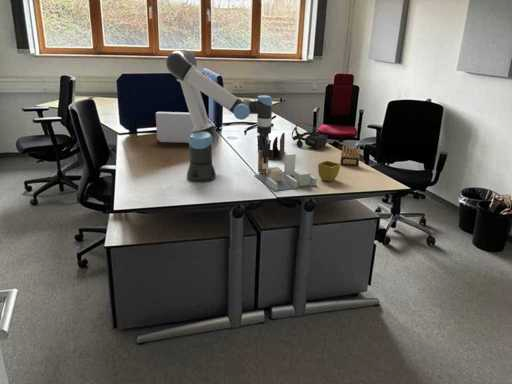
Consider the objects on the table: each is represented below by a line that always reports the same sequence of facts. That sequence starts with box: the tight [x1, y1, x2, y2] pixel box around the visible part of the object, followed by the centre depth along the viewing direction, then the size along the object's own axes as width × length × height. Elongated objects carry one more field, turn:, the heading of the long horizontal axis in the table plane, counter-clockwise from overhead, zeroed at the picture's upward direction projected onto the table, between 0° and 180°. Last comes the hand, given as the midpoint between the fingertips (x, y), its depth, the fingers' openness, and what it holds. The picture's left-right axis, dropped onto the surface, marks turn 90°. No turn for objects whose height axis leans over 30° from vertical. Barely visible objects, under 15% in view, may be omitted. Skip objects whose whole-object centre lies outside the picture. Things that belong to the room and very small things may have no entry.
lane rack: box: [254, 171, 318, 192], centre depth 222 cm, size 25×24×4 cm
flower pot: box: [317, 160, 342, 182], centre depth 224 cm, size 9×9×9 cm
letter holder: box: [268, 132, 286, 161], centre depth 264 cm, size 10×20×14 cm, turn 170°
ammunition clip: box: [339, 145, 361, 168], centre depth 248 cm, size 11×2×12 cm, turn 78°
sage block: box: [283, 152, 312, 186], centre depth 220 cm, size 18×6×12 cm, turn 23°
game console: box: [155, 111, 194, 144], centre depth 291 cm, size 6×27×20 cm, turn 89°
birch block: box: [257, 149, 283, 182], centre depth 225 cm, size 18×6×12 cm, turn 23°
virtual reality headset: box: [291, 122, 329, 150], centre depth 290 cm, size 19×24×15 cm
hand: (263, 167), depth 233 cm, fingers closed on birch block, 2 cm apart
